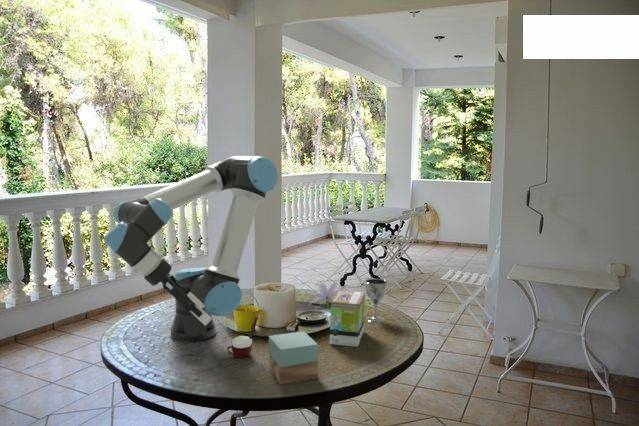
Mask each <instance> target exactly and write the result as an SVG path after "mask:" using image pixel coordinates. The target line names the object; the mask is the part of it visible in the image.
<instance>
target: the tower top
mask: <svg viewBox="0 0 639 426" xmlns="http://www.w3.org/2000/svg"><path fill="white" fill-rule="evenodd" d="M268 354H269V356H270V355H271V356H272V357H273V358H274V360H275V361H276V362H277V364H278V365H279V366H280V367H285V366H291V365H298V364H304V363H310V362H317V361H318V360H319V359H318V356H319V344H318V343H317V341H315V340H314V339H313V337H310V335H309V334H307V333H306V331H296V332H289V333H281V334H280V333H279V334H274V335H273V334H272V335H268ZM318 362H319V361H318Z"/></svg>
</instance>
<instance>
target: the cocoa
mask: <svg viewBox="0 0 639 426" xmlns="http://www.w3.org/2000/svg"><path fill="white" fill-rule="evenodd" d="M258 319H259V318H258V316H257V315H256V316H255V318H254V321H253V323H252V326H251V328H250V332H249V335H248V336H245V335H238V336H236V337H234V338H233V339H231V346H227V348H226V350H227V352H228V353H229V354H230V355H232V356H235V357H237V358H239V359H241V358H242V359H243V358H246V357H248V356H249V355H250V354H251V352H252V348H253V339H252V336H253V333H254V330H255V328H256V324H257V322H258ZM229 349H231V350H232V352H231V351H230V350H229Z"/></svg>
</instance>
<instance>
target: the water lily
mask: <svg viewBox="0 0 639 426" xmlns="http://www.w3.org/2000/svg"><path fill="white" fill-rule="evenodd" d="M337 285H338V281H336V282H334V283H332V284H330V285H329V286H328V287H327V286H326V284H325V283H318V288H319V289H315V291H312V290H311V291H309V293H310V294H311V295H314V296H316V297H317V298H315V299H314V300H313V301H311V304H312V303H313V304H318V303H320V302H321V303H322V302H323V301H324V300H326V304H327V307H328V306H329V307H330V305H329V302H330V303H331V301H332V300H333V298H334V297H335V295H336V294H337V292H338V291H345V288H339V289H337Z"/></svg>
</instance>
